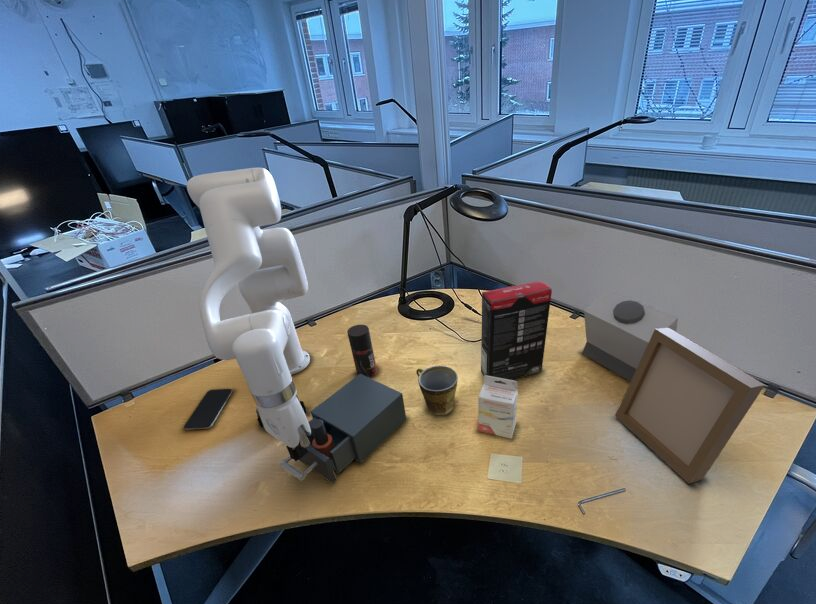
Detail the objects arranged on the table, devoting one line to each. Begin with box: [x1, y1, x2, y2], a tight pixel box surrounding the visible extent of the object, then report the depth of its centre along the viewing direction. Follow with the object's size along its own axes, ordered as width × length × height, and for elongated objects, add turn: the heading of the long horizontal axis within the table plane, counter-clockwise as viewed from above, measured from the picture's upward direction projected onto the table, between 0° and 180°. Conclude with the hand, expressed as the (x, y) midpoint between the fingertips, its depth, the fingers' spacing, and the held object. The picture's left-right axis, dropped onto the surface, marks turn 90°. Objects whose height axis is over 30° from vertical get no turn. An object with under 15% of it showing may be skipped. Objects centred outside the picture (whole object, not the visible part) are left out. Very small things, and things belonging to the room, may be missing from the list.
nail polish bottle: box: [310, 419, 335, 460], centre depth 93 cm, size 4×4×10 cm
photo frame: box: [614, 328, 766, 484], centre depth 89 cm, size 15×22×25 cm
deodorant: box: [346, 324, 378, 378], centre depth 119 cm, size 6×6×15 cm
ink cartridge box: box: [477, 375, 519, 439], centre depth 97 cm, size 9×5×15 cm, turn 71°
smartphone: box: [183, 388, 233, 431], centre depth 113 cm, size 7×1×15 cm
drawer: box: [279, 417, 357, 484], centre depth 95 cm, size 20×13×7 cm, turn 145°
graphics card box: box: [480, 280, 553, 383], centre depth 111 cm, size 17×7×27 cm, turn 108°
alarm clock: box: [581, 288, 679, 382], centre depth 114 cm, size 20×16×20 cm
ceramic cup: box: [416, 365, 459, 416], centre depth 107 cm, size 13×10×10 cm
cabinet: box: [310, 374, 407, 464], centre depth 101 cm, size 17×15×9 cm
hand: (299, 455), depth 88 cm, fingers closed
